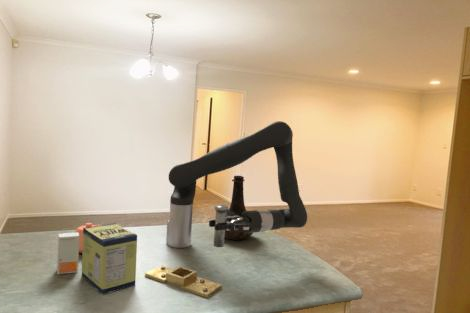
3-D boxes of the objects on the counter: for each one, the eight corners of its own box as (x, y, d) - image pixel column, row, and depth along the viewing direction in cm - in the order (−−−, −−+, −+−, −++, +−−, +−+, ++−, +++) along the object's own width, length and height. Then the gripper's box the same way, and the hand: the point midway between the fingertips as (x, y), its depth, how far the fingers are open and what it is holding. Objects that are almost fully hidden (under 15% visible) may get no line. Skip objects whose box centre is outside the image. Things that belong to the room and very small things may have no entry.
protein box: (112, 268, 116) (114, 222, 115) (136, 285, 105) (138, 234, 104) (80, 276, 109) (82, 227, 108) (102, 295, 98) (104, 241, 97)
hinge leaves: (145, 276, 112) (145, 267, 112) (161, 268, 119) (162, 259, 118) (207, 298, 100) (207, 287, 100) (221, 287, 107) (222, 278, 107)
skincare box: (56, 275, 108) (58, 237, 107) (56, 269, 112) (57, 233, 111) (78, 272, 111) (79, 235, 110) (77, 267, 115) (78, 231, 114)
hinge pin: (209, 245, 113) (212, 206, 112) (216, 242, 117) (219, 204, 116) (221, 248, 111) (223, 208, 110) (228, 245, 115) (230, 206, 114)
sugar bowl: (62, 252, 128) (62, 224, 127) (91, 241, 141) (92, 216, 140) (88, 258, 123) (89, 230, 122) (115, 247, 136) (116, 221, 135)
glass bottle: (258, 234, 165) (262, 175, 163) (251, 246, 148) (256, 180, 146) (221, 229, 169) (225, 172, 167) (210, 240, 152) (214, 176, 150)
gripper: (246, 205, 127) (203, 208, 118) (269, 215, 115) (223, 219, 106) (245, 226, 127) (202, 230, 119) (267, 238, 115) (221, 243, 107)
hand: (212, 225), depth 112 cm, fingers closed on hinge pin, 3 cm apart
